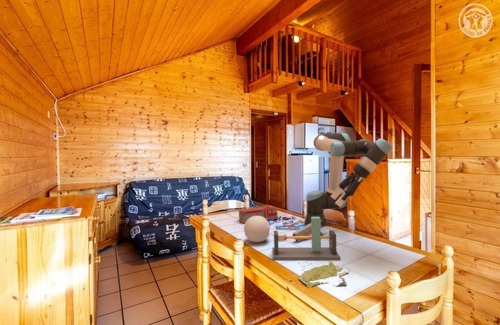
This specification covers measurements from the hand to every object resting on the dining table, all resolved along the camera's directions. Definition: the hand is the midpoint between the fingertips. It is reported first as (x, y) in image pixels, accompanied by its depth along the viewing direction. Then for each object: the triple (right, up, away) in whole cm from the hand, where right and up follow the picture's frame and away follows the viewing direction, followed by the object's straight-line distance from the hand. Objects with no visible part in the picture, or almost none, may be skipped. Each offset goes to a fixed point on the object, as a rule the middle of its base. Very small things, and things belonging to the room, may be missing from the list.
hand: (334, 201), depth 121 cm
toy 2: (-38, -28, +23) cm, 52 cm away
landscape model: (-10, -29, -21) cm, 37 cm away
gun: (-6, -27, +26) cm, 37 cm away
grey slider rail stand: (-15, -27, +2) cm, 31 cm away
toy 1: (-35, -26, +68) cm, 81 cm away
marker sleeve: (-9, -24, +2) cm, 26 cm away
